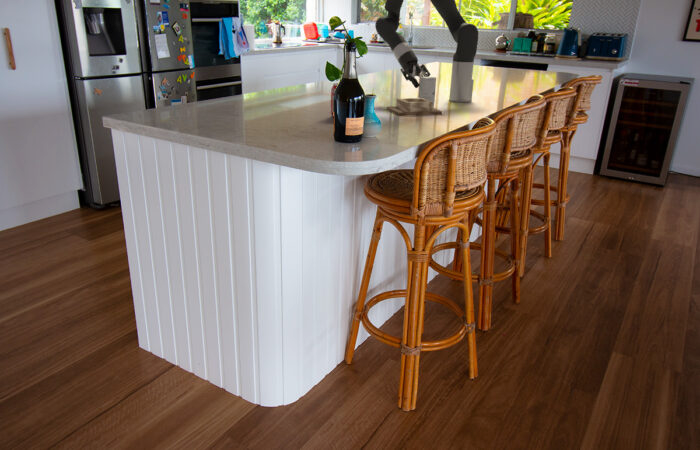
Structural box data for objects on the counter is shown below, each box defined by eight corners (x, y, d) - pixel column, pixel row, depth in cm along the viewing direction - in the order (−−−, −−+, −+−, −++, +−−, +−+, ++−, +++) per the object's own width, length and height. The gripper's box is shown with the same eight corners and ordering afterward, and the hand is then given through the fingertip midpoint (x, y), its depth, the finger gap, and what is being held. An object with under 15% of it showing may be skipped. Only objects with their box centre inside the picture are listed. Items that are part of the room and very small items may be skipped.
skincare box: (423, 107, 230) (425, 77, 226) (416, 105, 234) (418, 76, 229) (434, 106, 233) (437, 77, 229) (427, 104, 237) (430, 76, 232)
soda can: (349, 118, 202) (350, 85, 198) (330, 118, 202) (330, 85, 198) (349, 115, 209) (350, 83, 205) (331, 114, 209) (331, 82, 205)
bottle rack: (427, 108, 228) (428, 97, 226) (441, 114, 215) (442, 102, 213) (386, 109, 223) (387, 98, 221) (399, 115, 210) (399, 103, 208)
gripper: (399, 50, 227) (419, 81, 224) (421, 49, 237) (440, 79, 233) (389, 62, 233) (408, 93, 229) (410, 61, 242) (429, 90, 239)
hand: (424, 86), depth 231 cm, fingers open, 8 cm apart
